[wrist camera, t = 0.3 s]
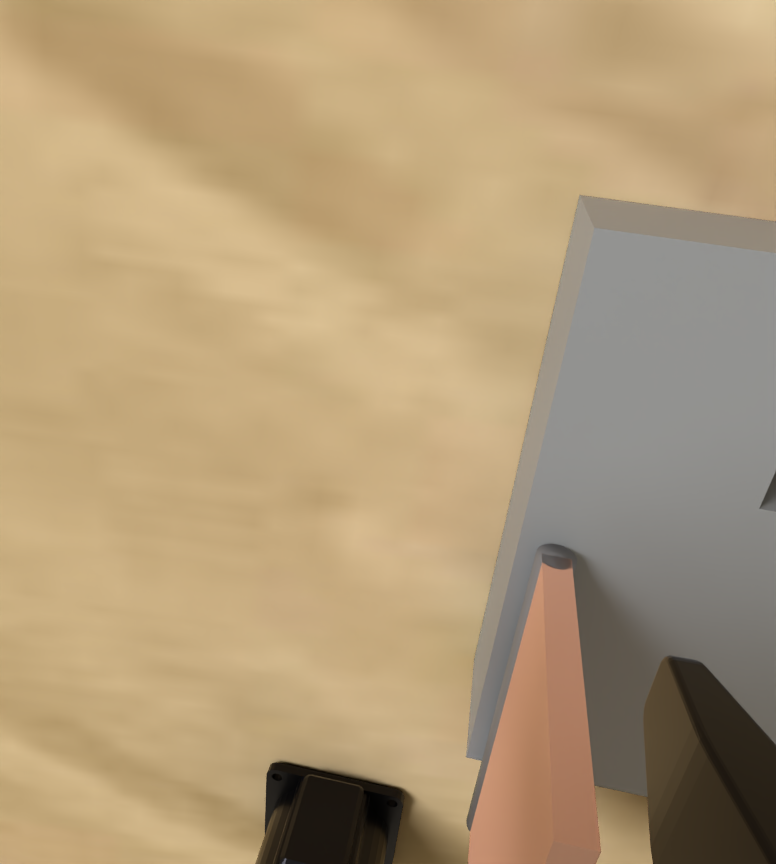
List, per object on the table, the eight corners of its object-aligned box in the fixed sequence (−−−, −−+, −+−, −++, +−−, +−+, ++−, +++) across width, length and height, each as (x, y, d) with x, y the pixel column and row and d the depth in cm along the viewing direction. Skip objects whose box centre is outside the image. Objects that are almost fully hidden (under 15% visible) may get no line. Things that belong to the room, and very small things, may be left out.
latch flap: (498, 813, 25) (487, 1132, 17) (467, 806, 25) (444, 1120, 18) (575, 548, 19) (609, 853, 12) (535, 540, 19) (544, 838, 12)
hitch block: (839, 734, 26) (894, 851, 22) (474, 659, 28) (466, 757, 24) (1128, 269, 18) (1299, 326, 14) (579, 194, 19) (594, 227, 15)
